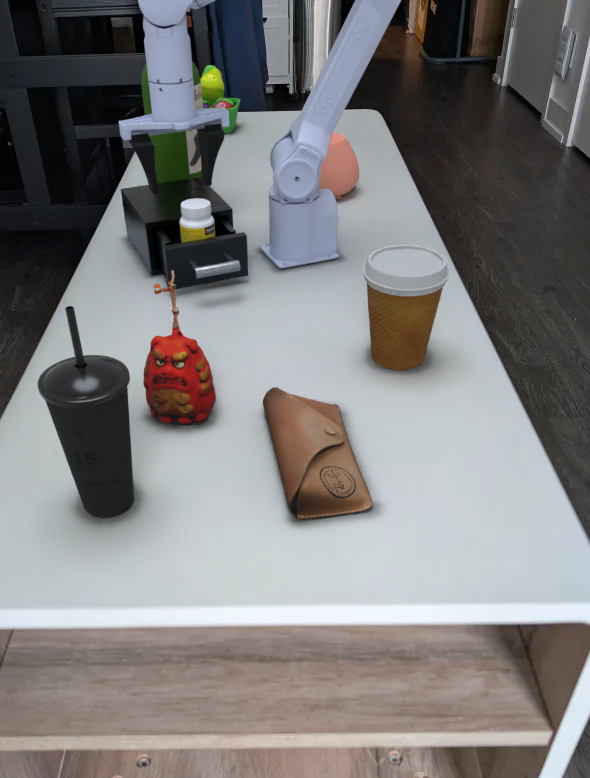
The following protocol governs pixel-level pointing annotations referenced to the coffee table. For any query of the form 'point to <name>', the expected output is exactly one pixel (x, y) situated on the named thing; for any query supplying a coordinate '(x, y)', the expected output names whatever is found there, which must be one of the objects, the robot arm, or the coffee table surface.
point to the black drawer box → (163, 212)
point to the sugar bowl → (339, 167)
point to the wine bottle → (175, 141)
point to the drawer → (201, 255)
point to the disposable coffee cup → (403, 302)
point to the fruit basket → (218, 95)
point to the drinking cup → (92, 425)
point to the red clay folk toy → (178, 375)
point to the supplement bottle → (196, 220)
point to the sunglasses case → (314, 457)
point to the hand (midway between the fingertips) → (180, 187)
